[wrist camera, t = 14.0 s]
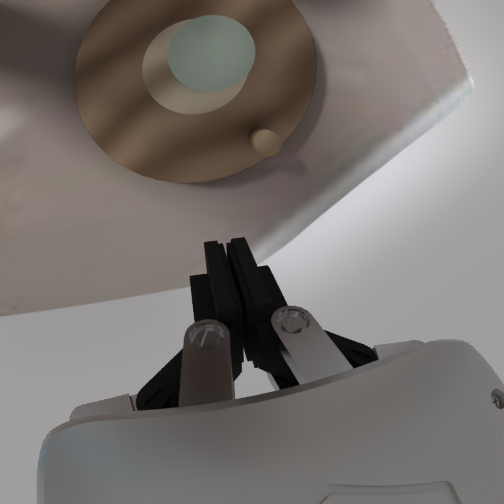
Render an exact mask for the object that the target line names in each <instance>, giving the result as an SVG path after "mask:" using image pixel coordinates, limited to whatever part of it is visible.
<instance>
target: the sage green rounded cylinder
mask: <svg viewBox="0 0 504 504" xmlns="http://www.w3.org/2000/svg"><path fill="white" fill-rule="evenodd" d="M254 60H255V44H254V41H253V38H252V36H251V34H250V33H249V31H248V30H247V29H246V28H245V27H244V26H243V25H242V24H240V23H239V22H237V21H236V20H234V19H231V18H229V17H225V16H220V15H207V16H201V17H198V18H195V19H192V20H191V21H189V22H187V23H186V24H184V25H183V26H182V27H180V28H179V29H178V30H177V32H176V33H175V34H174V36H173V37H172V39H171V41H170V44H169V47H168V63H169V66H170V69H171V71H172V73H173V75H174V76H175V78H176V79H177V80H178V81H179V82H180V83H181V84H182V85H183V86H185V87H187V88H189V89H191V90H194V91H199V92H215V91H221V90H225V89H228V88H230V87H232V86H234V85H236V84H237V83H239V82H240V81H241V80H242V79H244V78H245V77H246V75H247V74H248V73H249V71H250V70H251V68H252V66H253V63H254Z"/></svg>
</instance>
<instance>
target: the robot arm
mask: <svg viewBox="0 0 504 504" xmlns="http://www.w3.org/2000/svg"><path fill="white" fill-rule="evenodd" d="M226 247H227V256H226V253H225V249H224V246H223V243H221V244H218V242H217V241H209V242H204V249H205V259H206V268H207V274H200V275H193V276H190V285H191V294H192V304H193V312H194V320H195V323H193V324H192V325H191V326H190V327H189V328H188V329H187V330H186V333H185V336H184V346H183V349H182V350H181V351H180V352H179V353H178V354H177V355H176V356H175V357H174V358H173V359H171V360H170V362H168V363H167V364H166V365H165V366H164V367H163V368H162V369H161V370H160V371H159V372H158V373H157V374H156V375H155V376H154V377H153V378H152V379H151V380H150V381H149V382H148V383H147V384H146V385H145V386H144V387H143V388H142V389H141V390H140V391H139V392H138V394H136V395H132V396H130V395H129V394H125V395H121V396H118V397H113V398H110V399H105V400H102V401H97V402H93V403H88V404H83V405H80V406H78V407H76V408H75V409H74V410H73V411H72V413H71V416H70V421H68V422H65V423H63V424H61V425H59V426H57V427H56V428H54V429H53V430H51V431H50V432H49V434H47V436H46V438H45V439H44V441H43V444H42V447H41V450H40V455H39V461H38V469H37V504H504V384H503V382H502V381H501V380H500V378H499V377H498V375H497V374H496V373H495V371H494V370H493V368H492V367H491V366H490V365H489V364H488V362H487V361H486V360H485V358H484V357H483V356H482V355H481V354H480V353H479V352H478V351H477V350H476V349H475V348H474V347H473V346H472V345H470V344H469V343H467V342H465V341H461V340H455V339H448V340H437V341H430V342H427V343H423V342H421V341H416V340H412V341H406V342H398V343H391V344H383V345H375V346H374V348H370V347H368V346H366V345H364V344H361V343H358V342H355V341H353V340H350V339H347V338H344V337H341V336H339V335H336V334H334V333H331V332H328V331H326V330H323V329H322V327H321V326H320V325H319V324H318V322H317V321H316V320H315V318H314V317H313V316H312V315H311V314H310V313H309V312H308V311H307V310H305V309H303V308H301V307H297V306H288V305H287V303H286V301H285V299H284V296H283V294H282V292H281V290H280V288H279V286H278V284H277V282H276V280H275V278H274V276H273V274H272V272H271V270H270V268H269V266H267V265H266V266H259V267H257V264H256V262H255V260H254V257H253V255H252V253H251V250H250V248H249V246H248V244H247V241H246V239H245V237H242V238H234V239H231V242H230V243H226ZM243 348H244V351H245V354H246V358H247V361H253V364H254V368H258V367H259V369H262V370H263V371H266V372H267V375H268V378H269V380H270V382H271V384H272V386H273V387H274V389H275V391H273V392H269V393H265V394H260V395H255V396H250V397H245V398H240V399H235V389H234V381H235V380H236V378H237V377H238V376H239V375H240V373H241V372H242V362H244V356H243Z"/></svg>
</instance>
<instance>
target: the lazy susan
mask: <svg viewBox="0 0 504 504" xmlns="http://www.w3.org/2000/svg"><path fill="white" fill-rule="evenodd" d="M207 15H220V16H225V17H229V18H231V19H234V20H236V21H237V22H239V23H240V24H242V25H243V26H244V27H245V28H246V29H247V30H248V31H249V33H250V34H251V36H252V38H253V41H254V44H255V60H254V63H253V66H252V68H251V70H250V71H249V73H248V74H247V75H246V77H245V78H244V79H242V80H241V81H240V82H239V83H237V84H236V85H234V86H232V87H230V88H228V89H225V90H221V91H215V92H199V91H194V90H191V89H189V88H187V87H185V86H183V85H182V84H181V83H180V82H179V81H178V80H177V79H176V78H175V76H174V75H173V73H172V71H171V69H170V66H169V63H168V47H169V44H170V41H171V39H172V37H173V36H174V34H175V33H176V32H177V30H178V29H179V28H180V27H182V26H183V25H184V24H186V23H187V22H189V21H191V20H192V19H195V18H198V17H201V16H207ZM316 70H317V65H316V52H315V47H314V42H313V39H312V36H311V33H310V30H309V28H308V26H307V24H306V22H305V20H304V18H303V16H302V15H301V13H300V12H299V10H298V9H297V8H296V6H295V5H294V4H293V3H292V2H291V0H110V1H109V2H108V3H107V4H106V5H105V6H104V8H103V9H102V10H101V11H100V12H99V13H98V15H97V16H96V17H95V19H94V20H93V22H92V23H91V25H90V26H89V28H88V30H87V32H86V34H85V36H84V38H83V40H82V42H81V45H80V48H79V51H78V54H77V58H76V63H75V70H74V92H75V99H76V104H77V107H78V111H79V114H80V117H81V119H82V121H83V123H84V125H85V127H86V129H87V131H88V132H89V134H90V135H91V137H92V138H93V140H94V141H95V142H96V143H97V144H98V146H99V147H100V148H101V149H102V150H103V151H104V152H105V153H106V154H107V155H109V156H110V157H111V158H112V159H114V160H115V161H116V162H118V163H119V164H121V165H123V166H124V167H126V168H127V169H129V170H132V171H134V172H136V173H138V174H141V175H143V176H147V177H150V178H153V179H156V180H162V181H168V182H178V183H195V182H206V181H211V180H217V179H221V178H224V177H228V176H231V175H234V174H236V173H239V172H241V171H244V170H246V169H248V168H250V167H252V166H253V165H255V164H257V163H259V162H261V161H262V160H263V159H265V158H266V157H272V156H275V155H276V154H277V153H279V151H280V150H281V147H282V144H283V143H284V142H285V141H286V140H287V139H288V137H289V136H290V135H291V134H292V133H293V132H294V130H295V129H296V127H297V126H298V124H299V123H300V122H301V120H302V118H303V116H304V114H305V112H306V110H307V108H308V106H309V103H310V100H311V98H312V95H313V91H314V86H315V81H316Z"/></svg>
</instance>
